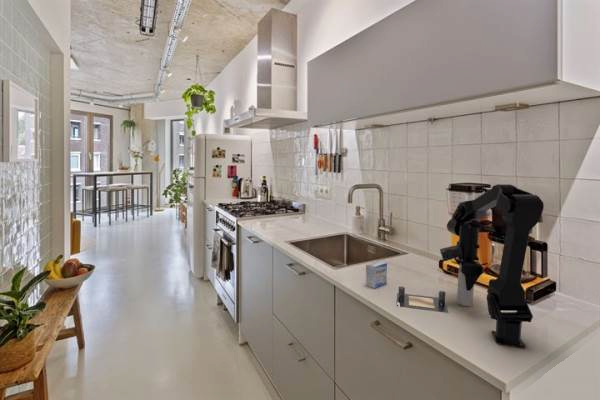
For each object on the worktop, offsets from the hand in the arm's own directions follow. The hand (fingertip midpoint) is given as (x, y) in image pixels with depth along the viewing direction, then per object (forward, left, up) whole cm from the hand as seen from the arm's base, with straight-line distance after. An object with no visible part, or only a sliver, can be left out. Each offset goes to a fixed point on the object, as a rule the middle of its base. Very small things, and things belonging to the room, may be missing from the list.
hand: (465, 285), depth 111 cm
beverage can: (0, 0, -7) cm, 7 cm away
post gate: (-3, +14, -7) cm, 16 cm away
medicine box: (+9, +30, -7) cm, 32 cm away
